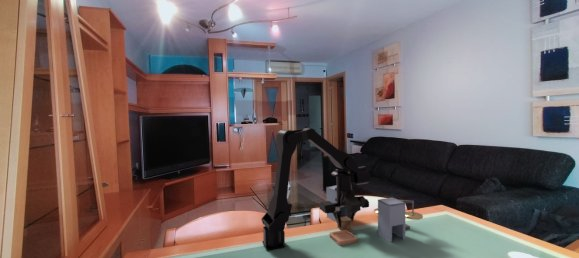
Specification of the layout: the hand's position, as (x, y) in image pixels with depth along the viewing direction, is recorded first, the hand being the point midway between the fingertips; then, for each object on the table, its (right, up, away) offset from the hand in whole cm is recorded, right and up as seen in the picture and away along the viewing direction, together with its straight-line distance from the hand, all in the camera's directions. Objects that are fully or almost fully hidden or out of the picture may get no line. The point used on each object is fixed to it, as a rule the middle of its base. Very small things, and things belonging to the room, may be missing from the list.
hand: (344, 226), depth 105 cm
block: (0, -1, 0) cm, 1 cm away
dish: (-2, -2, -9) cm, 9 cm away
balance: (+21, -1, +2) cm, 21 cm away
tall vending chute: (-1, 0, +11) cm, 11 cm away
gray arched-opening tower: (+15, -1, -7) cm, 17 cm away
